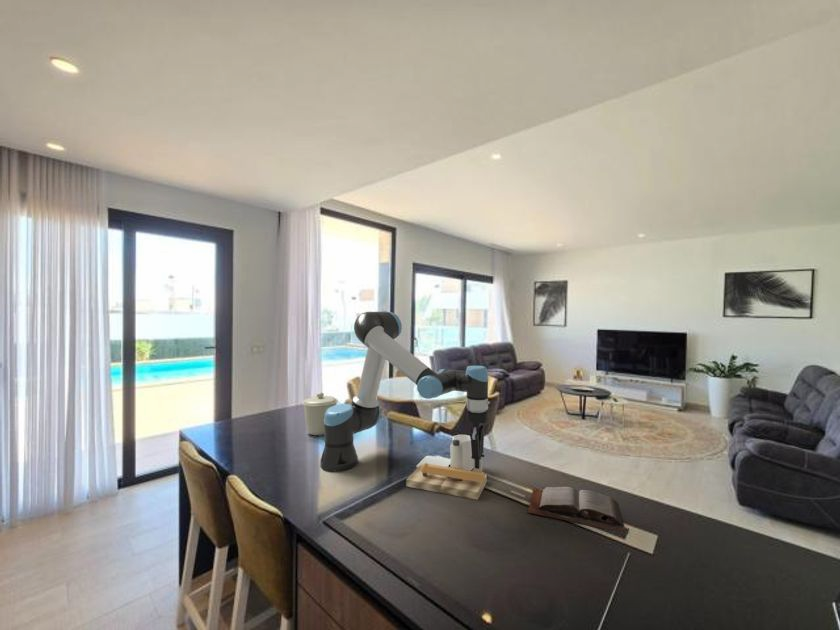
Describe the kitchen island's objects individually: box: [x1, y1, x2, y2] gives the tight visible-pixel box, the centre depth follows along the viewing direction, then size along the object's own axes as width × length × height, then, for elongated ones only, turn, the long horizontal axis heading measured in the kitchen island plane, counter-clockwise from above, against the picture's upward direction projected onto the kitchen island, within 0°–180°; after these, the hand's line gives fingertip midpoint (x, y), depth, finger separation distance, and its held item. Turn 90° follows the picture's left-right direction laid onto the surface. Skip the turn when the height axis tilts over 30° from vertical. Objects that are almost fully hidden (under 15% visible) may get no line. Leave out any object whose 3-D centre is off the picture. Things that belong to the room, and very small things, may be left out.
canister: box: [301, 391, 339, 436], centre depth 193 cm, size 18×18×21 cm
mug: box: [452, 434, 474, 471], centre depth 147 cm, size 12×8×12 cm
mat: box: [415, 455, 450, 469], centre depth 151 cm, size 12×12×1 cm
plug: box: [449, 439, 463, 481], centre depth 134 cm, size 7×7×16 cm
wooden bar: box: [421, 463, 486, 483], centre depth 131 cm, size 23×3×3 cm, turn 68°
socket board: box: [405, 465, 488, 501], centre depth 134 cm, size 26×14×4 cm, turn 68°
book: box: [527, 486, 631, 535], centre depth 117 cm, size 20×28×4 cm
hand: (478, 476), depth 131 cm, fingers closed
